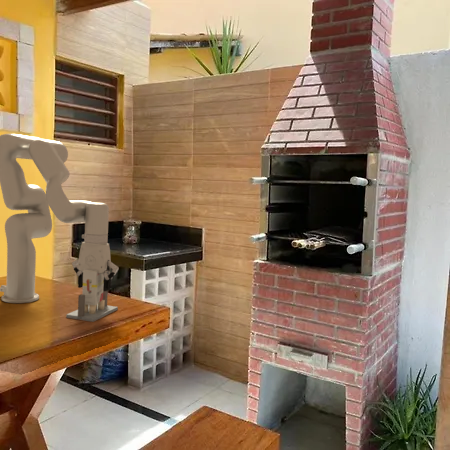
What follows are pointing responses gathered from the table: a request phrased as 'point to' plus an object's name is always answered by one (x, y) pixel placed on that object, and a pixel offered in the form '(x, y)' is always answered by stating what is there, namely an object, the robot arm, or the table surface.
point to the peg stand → (92, 309)
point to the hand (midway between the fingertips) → (94, 288)
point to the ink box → (92, 287)
